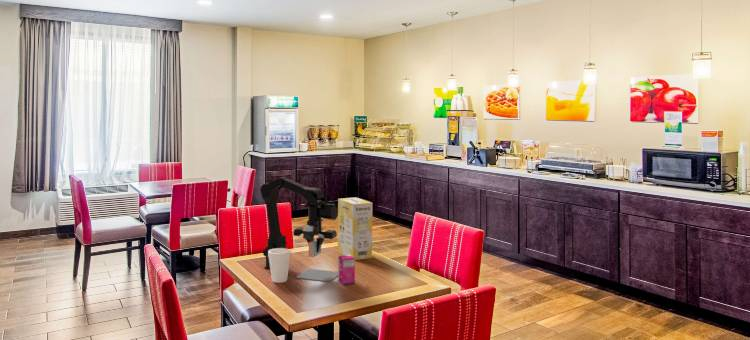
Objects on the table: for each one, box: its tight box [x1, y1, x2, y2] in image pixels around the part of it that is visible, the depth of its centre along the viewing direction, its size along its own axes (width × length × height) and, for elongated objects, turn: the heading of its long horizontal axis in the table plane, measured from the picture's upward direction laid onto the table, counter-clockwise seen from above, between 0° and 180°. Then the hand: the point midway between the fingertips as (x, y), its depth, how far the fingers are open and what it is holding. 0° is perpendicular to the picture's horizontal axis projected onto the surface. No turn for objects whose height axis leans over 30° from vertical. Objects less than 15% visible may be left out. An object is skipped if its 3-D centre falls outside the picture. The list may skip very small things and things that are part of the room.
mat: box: [295, 268, 338, 283], centre depth 238 cm, size 16×14×1 cm
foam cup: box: [268, 248, 292, 284], centre depth 230 cm, size 10×9×13 cm
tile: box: [308, 238, 322, 258], centre depth 238 cm, size 2×8×6 cm, turn 162°
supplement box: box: [337, 254, 356, 286], centre depth 229 cm, size 6×6×12 cm
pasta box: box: [337, 196, 373, 261], centre depth 273 cm, size 18×10×28 cm, turn 28°
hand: (314, 252), depth 238 cm, fingers closed on tile, 2 cm apart
